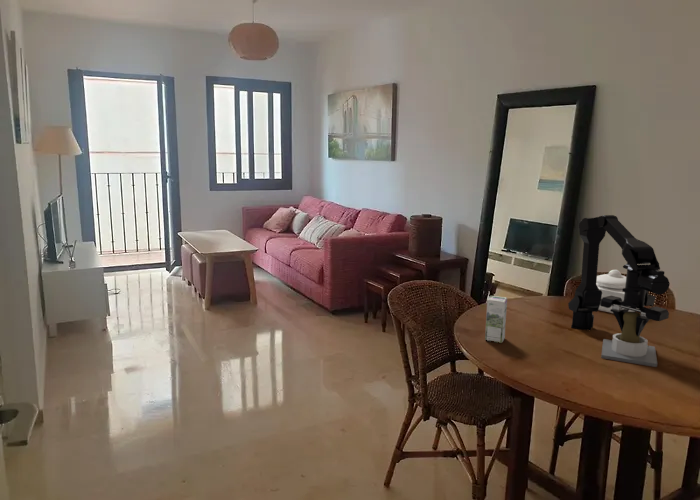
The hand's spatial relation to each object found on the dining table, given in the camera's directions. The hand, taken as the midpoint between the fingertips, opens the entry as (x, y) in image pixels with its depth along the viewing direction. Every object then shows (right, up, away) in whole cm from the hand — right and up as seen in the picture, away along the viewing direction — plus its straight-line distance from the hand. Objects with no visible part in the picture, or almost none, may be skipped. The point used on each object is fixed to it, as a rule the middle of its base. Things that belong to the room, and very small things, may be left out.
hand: (630, 334), depth 168 cm
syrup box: (-39, -4, +13) cm, 41 cm away
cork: (0, -4, +1) cm, 4 cm away
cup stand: (0, -6, +1) cm, 6 cm away
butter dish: (+20, +3, +51) cm, 55 cm away
